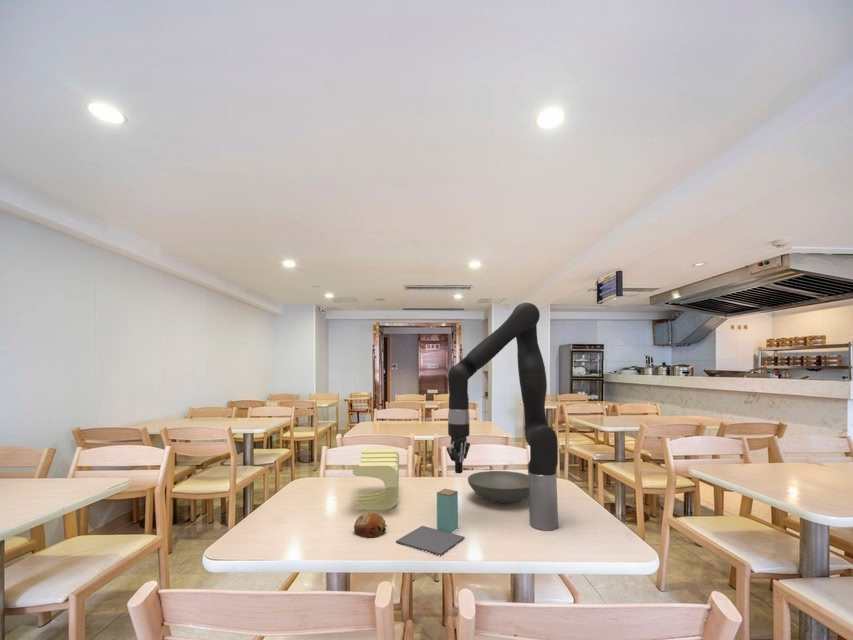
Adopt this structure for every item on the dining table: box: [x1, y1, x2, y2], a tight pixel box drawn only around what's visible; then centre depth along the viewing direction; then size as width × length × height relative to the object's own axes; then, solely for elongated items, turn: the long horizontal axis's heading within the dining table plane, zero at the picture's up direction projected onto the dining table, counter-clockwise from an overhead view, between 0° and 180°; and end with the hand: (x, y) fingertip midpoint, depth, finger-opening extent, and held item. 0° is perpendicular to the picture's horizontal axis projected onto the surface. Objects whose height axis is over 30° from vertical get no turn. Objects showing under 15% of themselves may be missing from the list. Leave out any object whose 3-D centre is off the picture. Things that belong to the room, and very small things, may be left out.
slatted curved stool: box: [352, 448, 400, 510], centre depth 160 cm, size 30×16×18 cm, turn 3°
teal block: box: [436, 488, 459, 534], centre depth 134 cm, size 5×5×12 cm
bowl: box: [467, 470, 529, 504], centre depth 163 cm, size 27×28×8 cm
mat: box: [395, 525, 466, 557], centre depth 125 cm, size 14×16×1 cm
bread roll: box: [353, 510, 388, 539], centre depth 133 cm, size 10×10×8 cm
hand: (458, 472), depth 142 cm, fingers closed
